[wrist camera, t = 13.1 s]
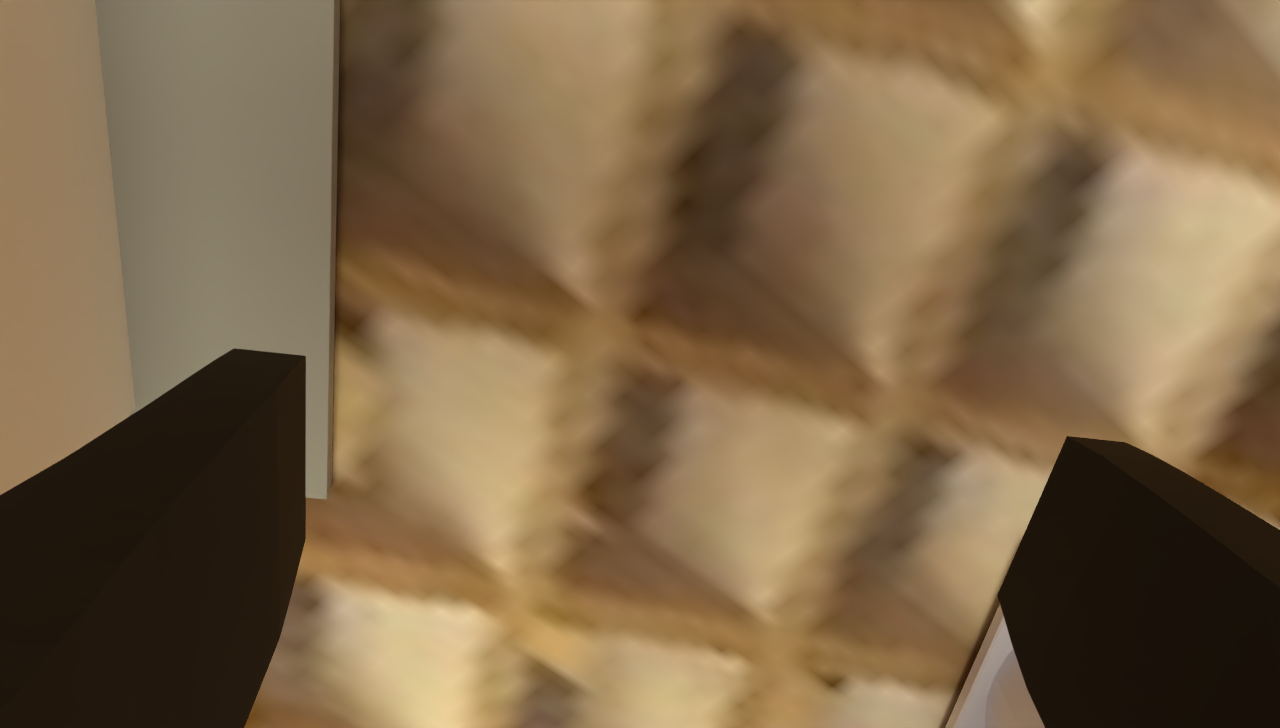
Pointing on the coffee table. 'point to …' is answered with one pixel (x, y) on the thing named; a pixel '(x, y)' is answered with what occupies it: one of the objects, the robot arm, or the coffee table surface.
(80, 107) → the off-white block
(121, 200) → the grey mat
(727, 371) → the coffee table surface
